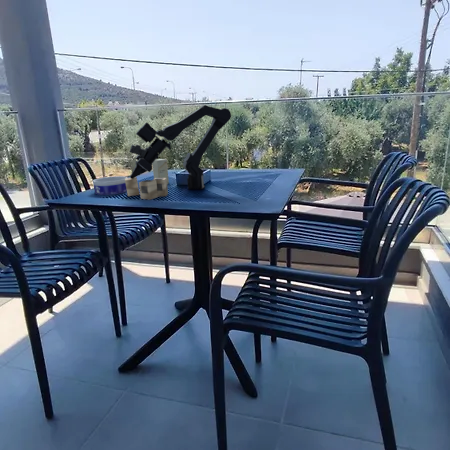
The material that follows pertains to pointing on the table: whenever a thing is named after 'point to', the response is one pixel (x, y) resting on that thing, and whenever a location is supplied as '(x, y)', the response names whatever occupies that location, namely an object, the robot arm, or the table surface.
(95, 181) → the dog bowl
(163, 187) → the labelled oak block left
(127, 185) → the plain oak block
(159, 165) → the skincare box
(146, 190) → the labelled oak block near
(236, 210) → the table surface
